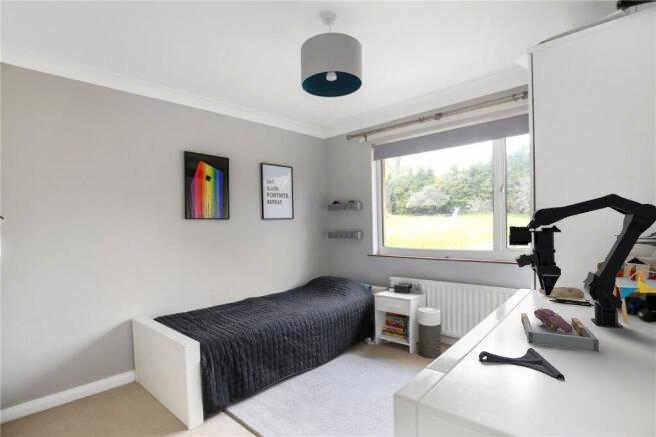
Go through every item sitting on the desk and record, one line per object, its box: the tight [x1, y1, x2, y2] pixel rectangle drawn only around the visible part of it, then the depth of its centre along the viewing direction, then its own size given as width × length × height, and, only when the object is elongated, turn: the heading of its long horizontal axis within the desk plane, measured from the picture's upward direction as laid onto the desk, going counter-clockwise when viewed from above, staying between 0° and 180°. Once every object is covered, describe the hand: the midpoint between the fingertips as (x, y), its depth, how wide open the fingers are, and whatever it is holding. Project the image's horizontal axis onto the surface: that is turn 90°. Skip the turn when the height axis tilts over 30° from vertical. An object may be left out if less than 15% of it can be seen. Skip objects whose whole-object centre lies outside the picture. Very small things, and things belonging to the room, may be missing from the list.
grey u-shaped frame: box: [524, 321, 599, 353], centre depth 90 cm, size 10×15×3 cm
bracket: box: [478, 347, 566, 380], centre depth 77 cm, size 14×15×3 cm
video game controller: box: [533, 307, 574, 333], centre depth 100 cm, size 10×5×7 cm, turn 5°
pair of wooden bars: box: [520, 312, 586, 337], centre depth 99 cm, size 10×15×2 cm, turn 64°
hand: (545, 292), depth 109 cm, fingers open, 9 cm apart
